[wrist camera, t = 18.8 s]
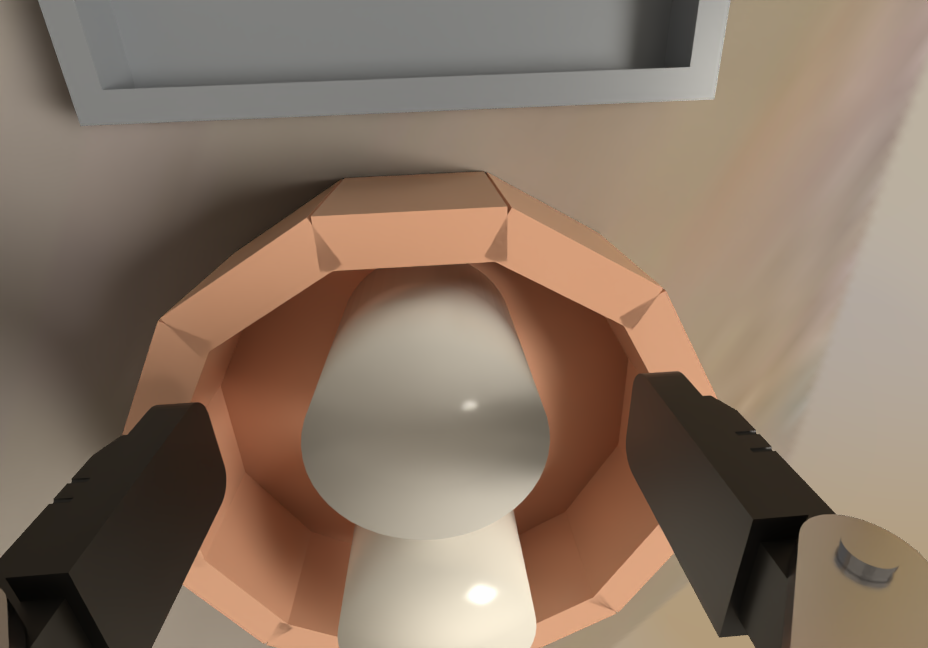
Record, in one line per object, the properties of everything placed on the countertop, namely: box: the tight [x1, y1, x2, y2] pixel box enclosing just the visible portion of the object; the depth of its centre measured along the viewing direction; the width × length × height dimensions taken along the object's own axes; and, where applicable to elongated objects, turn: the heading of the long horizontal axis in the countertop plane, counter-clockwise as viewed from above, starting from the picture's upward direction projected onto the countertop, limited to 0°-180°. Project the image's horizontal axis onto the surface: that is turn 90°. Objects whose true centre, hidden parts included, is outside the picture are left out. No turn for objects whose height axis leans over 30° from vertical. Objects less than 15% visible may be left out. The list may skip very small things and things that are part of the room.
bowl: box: [122, 171, 717, 648], centre depth 13 cm, size 13×13×4 cm
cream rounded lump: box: [337, 510, 536, 648], centre depth 13 cm, size 4×4×5 cm
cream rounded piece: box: [301, 263, 550, 540], centre depth 11 cm, size 4×4×5 cm
